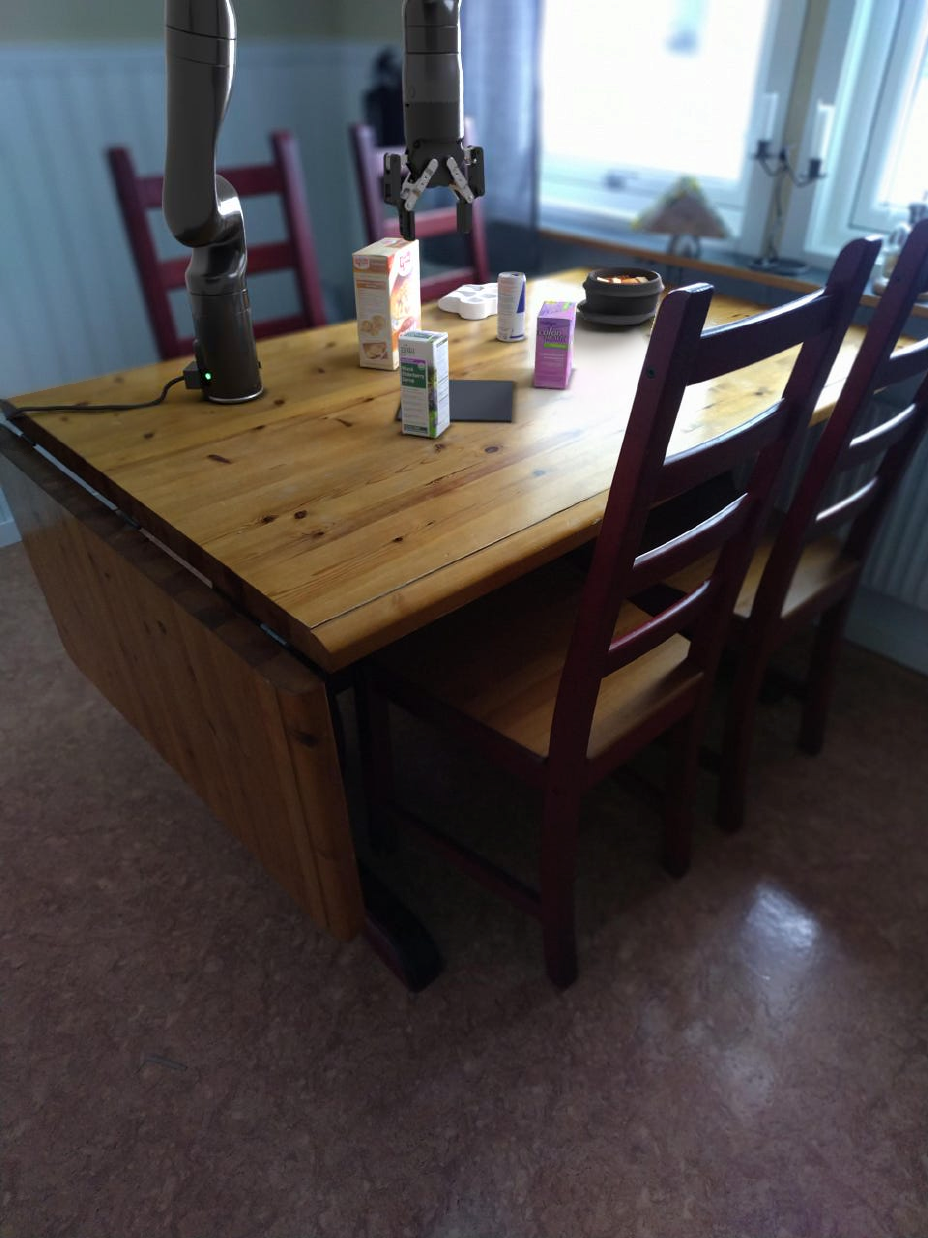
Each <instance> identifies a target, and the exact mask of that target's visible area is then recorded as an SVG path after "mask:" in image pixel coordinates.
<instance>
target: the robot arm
mask: <svg viewBox="0 0 928 1238" xmlns="http://www.w3.org/2000/svg"><path fill="white" fill-rule="evenodd" d="M461 5H462V0H403V2H402V6H401V26H402V27H401V33H402V34H401V35H402V52H403V53H402V68H401V69H402V71H401V80H402V81H401V83H402V84H401V85H402V88H401V89H402V105H403V106H402V110H403V135H404V139H405V151H404V153H394V152H384V154H383V156H382V159H383V160H382V169H383V170H382V172H383V173H382V174H383V175H382V176H383V177H382V179H383V202H384V204H386V205H389V206H391V207H395V208H396V209H397V211H398V227H399V231H398V232H399V234H400V236H402V238H404V240H406V241H409V242H410V241H415V239H416V218H415V217H416V216H415V215H416V214H415V210H413V208H414V207H415V204H416V202H417V201H418V198H419V197H420V196H422V194H423V193H424V191H425V189H435V188H437V187H443V188H449V189H450V190H451V191H452V192H453V194H454V196H455V198H456V199H457V200H458V201H456V203H455V205H456V207H455V208H456V209H455V210H456V231H457V233H459V234H464V235H465V234H469V233H470V229H471V228H472V225H473V203H474V201H475V200H476V199H478V198H479V197H480V198H481V197H484V196H485V194H486V179H485V178H486V176H485V152H484V151H485V150H484V148H483V147H482V146H478V145H472V144H469V145H467V146H466V147H463V144H462V140H463V137H464V77H463V76H464V75H463V66H462V56H461V47H462V46H461V44H462V43H461V12H460V11H461V10H460V9H461ZM237 28H238V27H237V17H236V13H235V8H234V5H233V1H232V0H164V56H165V59H164V60H165V81H166V82H165V103H166V104H165V105H166V106H165V107H166V110H165V111H166V115H165V116H166V146H165V159H164V172H163V182H162V197H161V198H162V199H161V207H162V214H163V219H164V223H165V225H166V227H167V229H168V231H169V232H170V234H171V236H172V237H173V238H174V239H175V240H176V241H177V242H178V243H180V244H181V245H182V246H185V247H186V248H191V249H192V250H191V258H190V262H189V264H188V266H187V268H186V269H185V273H184V280H185V285H186V291H187V295H188V302H189V306H190V312H191V317H192V322H193V327H194V334H195V338H196V339H195V340H194V341H193V342H192V348H193V353H194V357H195V360H194V361H193V360H192V361H191V362H190V363H189V364H188V365H187V366H185V368H183V370H182V375H181V376H178V377H175V378H173V379H172V380H170V381H168V382H167V383H166V384H165V385H164V386H163V388H162V392H161V394H160V396H159V397H157V398H156V399H154V400H152V401H150V402H149V401H148V402H146V403H141V404H105V405H103V404H102V405H51V406H50V405H47V406H22V407H18V408H15V409H13V410H12V411H11V412H10V413H8V415H7V416H6V418H5V421H11V420H13V419H14V418H15V417H16V416H18V415H19V414H22V413H25V412H54V411H55V412H56V411H78V412H79V411H80V412H81V411H84V412H87V411H89V412H90V411H91V412H92V411H94V412H97V411H111V410H112V411H113V410H114V411H115V410H119V411H120V410H121V411H123V410H124V411H125V410H134V409H140V408H146V407H153V406H156V405H158V404H161V403H162V402H164V401H165V399H166V398H167V395H168V392H169V389H170V388H172V386H174V385H176V384H178V383H180V382H183V381H184V386H185V389H186V390H195V391H196V390H201V394H202V400H203V401H211V402H214V403H217V404H239V403H245V402H250V401H253V400H255V399H257V398H259V397H261V396H262V395H263V394H264V387H263V383H262V382H263V381H262V377H261V370H262V364H261V363H262V362H261V361H260V360H259V356H258V348H257V343H256V337H255V330H254V323H253V316H252V310H251V303H250V296H249V290H248V284H247V283H248V282H247V272H248V267H249V256H248V246H247V238H246V237H247V235H246V227H245V220H244V219H245V218H244V213H243V208H242V204H241V200H240V197H239V195H238V192H237V191H236V189H235V187H234V186H233V185H232V184H231V183H230V182H229V180H227V179H226V178H225V177H224V176H222V175H220V174H218V173H217V152H218V144H219V139H220V135H221V131H222V128H223V125H224V122H225V119H226V115H227V113H228V109H229V106H230V102H231V100H232V97H233V96H232V95H233V91H234V86H235V81H236V74H237V73H236V71H237V47H238V46H237V43H238V42H237V41H238V38H237V37H238V29H237ZM463 163H464V164H465V165H466V177H467V179H466V178H465V176H464V174H463V173H462V171H461V170H460V169H461V166H462V164H463ZM404 166H405V167H406V169H408V173H407V176H406V177H405V180H404V182H403V183H402V172H403V171H404Z"/></svg>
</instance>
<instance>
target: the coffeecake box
mask: <svg viewBox="0 0 928 1238" xmlns="http://www.w3.org/2000/svg"><path fill="white" fill-rule="evenodd" d="M419 241H420V240H419V239H416V238H415V241H410V242H409V241H406V240H404V238H403V237H387V236H386V237H383V238H381V239H380V240H377V241H376V242H374V243H371V244H370V245H367V246H365V247H363V248H361V249H360V250H358V251H355V252H353V253H351V258H352V259H351V260H352V271H353V274H352V275H353V285H354V286H353V287H354V299H355V300H354V302H355V313H356V325H357V339H358V352H359V367H361V368H371V369H377V370H378V369H379V370H385V371H386V370H387V371H395V370H397V368H399V352H398V339H399V338H400V337H401V336H402V335H403V334H405V333H406V332H408V331H410V330H413V329H416V330H422V314H421V284H420V283H421V282H420V280H421V279H420V251H419V250H420V249H419V248H420V247H419V243H420V242H419Z"/></svg>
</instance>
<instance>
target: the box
mask: <svg viewBox="0 0 928 1238" xmlns="http://www.w3.org/2000/svg"><path fill="white" fill-rule="evenodd" d="M577 305H578V303H577V302H574V301H563V300H562V301H560V300H559V301H558V300H544V301H543V303H542V305H541V308H540V310H539V313H538V315H537V317H536V332H535V349H534V371H533V372H534V373H533V387H534V388H545V389H558V390H559V389H561V390H566V389H567V386H568V383H569V382H568V381H569V378H570V375H571V373H572V369H573V357H574V356H573V353H574V339H575V327H576V316H577Z"/></svg>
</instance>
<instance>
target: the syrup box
mask: <svg viewBox="0 0 928 1238" xmlns="http://www.w3.org/2000/svg"><path fill="white" fill-rule="evenodd" d="M448 334H449V333H448V331H447V332H446V331H445V332H444V331H443V332H441V331H431V330H422V329H421V330H416V329H413V330H410V331H408V332H406V333H405V334H403V335H402V336H401V337H400V338H399V339H398V352H399V366H398V368H399V383H400V399H401V400H400V401H401V405H402V421H401V426H402V427H401V429H402V434H403V435H414V436H419V437H426V438H431V439H436V438H437V437H439V436H440V435H441V434H442V433H443V432H444V431H445V430H446V429H447V428H448V427H449V426H450V421H449V380H450V379H449V373H450V372H449V335H448Z"/></svg>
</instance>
